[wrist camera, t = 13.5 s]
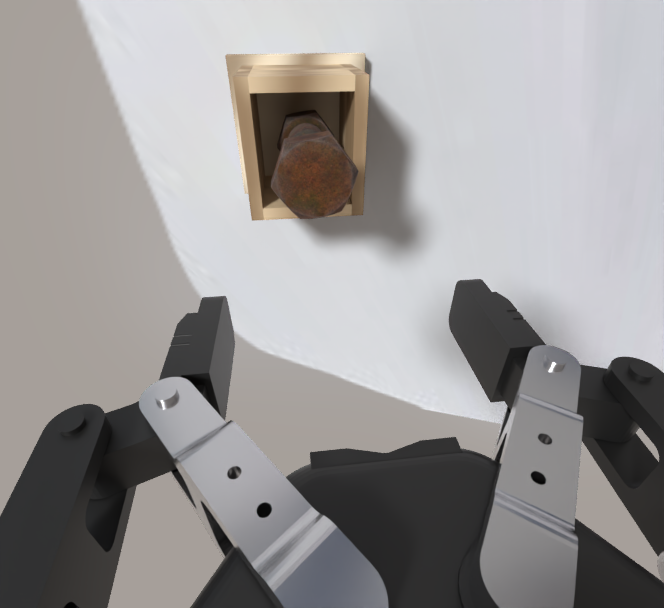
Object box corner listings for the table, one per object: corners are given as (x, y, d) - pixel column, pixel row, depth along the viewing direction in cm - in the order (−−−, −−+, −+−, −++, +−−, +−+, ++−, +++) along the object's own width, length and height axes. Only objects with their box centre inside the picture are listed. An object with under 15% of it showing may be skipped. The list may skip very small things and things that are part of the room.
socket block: (362, 52, 35) (387, 62, 27) (358, 184, 42) (376, 222, 34) (227, 54, 34) (212, 64, 26) (245, 189, 41) (238, 229, 33)
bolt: (316, 167, 39) (334, 232, 27) (268, 149, 38) (264, 209, 26) (338, 107, 36) (369, 151, 24) (286, 85, 35) (292, 120, 23)
